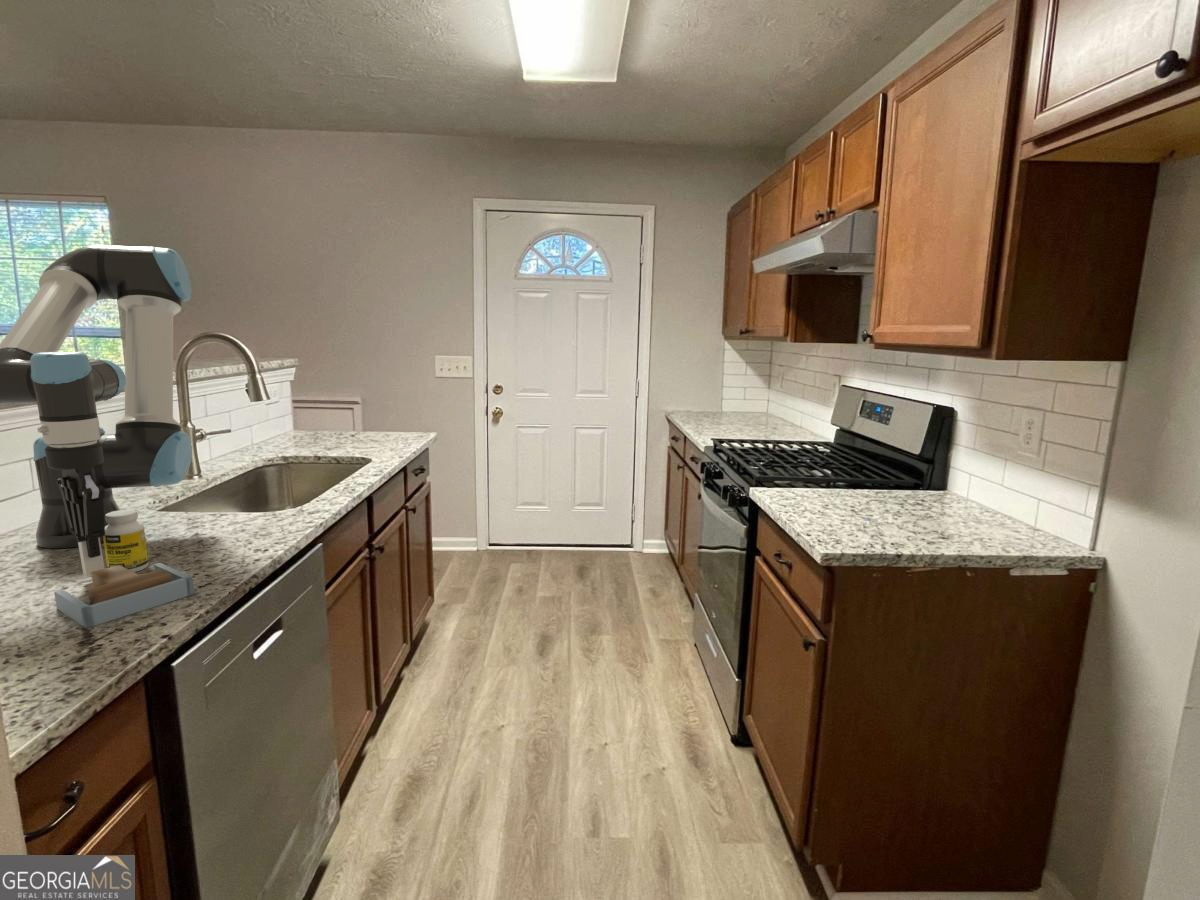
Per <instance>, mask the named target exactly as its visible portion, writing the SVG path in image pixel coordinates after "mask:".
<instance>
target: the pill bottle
mask: <svg viewBox="0 0 1200 900" xmlns="http://www.w3.org/2000/svg"><path fill="white" fill-rule="evenodd" d="M105 517H106V522H107V523H108V525H107V526H106V527H105V536H103V541H104V542H103V548H104V554H105V555H104V556H105V561H106V568H109V567H113V566H117V565H120V566H122V567H124V568H126V569H128V570H130V571H132V572H134V573H137V572H140V571H143V570H144V569H146V568H147V567H148V566H149V556H148V549H147V540H146V532H145V526H144V523H142V522H141V521H139V520H138V519H139V518H138V517H139V515H138V511H137V510H136V509H120V510H118V511H113V512H110V513H107V514H106V515H105Z"/></svg>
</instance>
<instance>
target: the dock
mask: <svg viewBox="0 0 1200 900" xmlns="http://www.w3.org/2000/svg"><path fill="white" fill-rule="evenodd" d="M153 569H154V570H153V571H156V570H159V569H160V570H162V571H164V572H166V573H168V574H171V582H168V583H164V584H161V585H158V586H154V587H151V588H147V589H144V590H141V591H137V592H134V593H130V594H127V595H124V596H120V597H117V598H113V599H110V600H107V601H103V602H100V603H96V604H93V605H90V604H89V605H88V604H87V603H85V602H84V601H83V600H80V599H79V598H77V597H76V596H74V595H72V594H71V593H69V592H67V591H66V590H64V589H63V588H62V589H61V588H60V589H58V590H54V591H53V594H54V599H55V605H56V609H57V610H59V611H60V612H61V613H63V614H64V615H66V616H67V617H69V618H71V619H72V620H74V621H75V622H76V623H78V624H80V625H81V626H82V627H84V628H85V629H88V628H91V627H94V626H97V625H101V624H104V623H107V622H111V621H113V620H117V619H119V618H123V617H126V616H129V615H132V614H135V613H138V612H139V613H140V612H141V611H145V610H147V609H151V608H154V607H159V606H161V605H164V604H168V603H170V602H172V601H173V602H174V601H177V600H180V599H183V598H186V597H189V596H193V595H195V586H194V578H193V577H192V576H190V575H189V574H186V573H184V572H181V571H180V570H177V569H175V568H172V567H171V566H168V565H165V564H163V563H162V562H157V563H154V564H153Z"/></svg>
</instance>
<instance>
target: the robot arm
mask: <svg viewBox="0 0 1200 900" xmlns="http://www.w3.org/2000/svg"><path fill="white" fill-rule="evenodd" d="M189 275H190V274H189V271H188V270H187V267H186V264H185V262H184V260H183V258H182V257H181V256H180V254H179V253H178V252H177V251H176V250H175V249H172V248H169V247H168V248H167V247H156V246H128V245H108V244H92V245H87V246H83V247H79V248H77V249H74V250H71V251H70V252H68V253H66V254H64V255H62V256H61V257H59V258H57V259H56V260H54V261H53V262H52V263H51V264H50V265H49V266H47V268H46V269H45V270H44V271H43V272H42V274H41V275H40V277H39V279H38V286H39V288H38V289H39V290H38V291H37V292H36V294H35V295H34V296H33V298H31V300H30V302H29V303H28V304H27V306H26V308H25V309H24V310H23V312H21V315H19V317H18V319H17V320H16V321H15V322H14V324H13V326H12V327H11V328H10V330H9V331H8V332H7V334H6V335H5V337H4V338H3V339H2V341H1V342H0V405H3V404H4V405H7V404H33V403H36V405H37V409H38V414H39V415H38V417H39V421H40V422H39V423H40V425H41V426H40V427H39V426H38V427H37V432H38V433H39V434H42V436H40V437H39V438H37V439H36V440H34V442H33V445H32V446H33V447H32V448H33V462H34V466H35V471H36V476H37V481H38V482H37V483H38V488H39V492H40V493H39V495H40V498H41V504H42V505H41V507H42V508H41V512H40V516H39V520H38V524H37V528H36V532H35V539H36V545H37V546H38V547H40V548H43V549H44V548H46V549H66V548H75V547H76V548H77V547H78V550H79V557H80V561H81V562H80V563H81V569H82V574H83V575H84V576H85V577H89V576H92V574H91V572H94V571H98V570H102V569H106V568H105V562H104V557H103V556H104V555H103V549H102V544H101V543H104V541H103V536H105V527H106V526H107V525H108V523H107V522H106V517H105V515H106V514H107V513H110V512H113V511H118V510H121V509H120V507H119V505H118V504H117V502H116V500H115V499H114V494H113V489H121V488H139V487H141V488H142V487H143V488H144V487H155V488H158V487H161V486H171V485H176V484H179V483H180V482H182V481H183V479H184V478H185V477H186V475H187V474H188V471H189V469H190V466H191V463H192V456H193V454H192V453H193V449H192V448H193V446H192V445H191V444H192V441H191V437H190V435H189V434H188V433H187V432H185V431H182V425H181V423H179V422H178V421H177V420H175V419H174V317H175V316H176V315H177V314H179V313H181V311H182V302H188V301H190V300H191V297H192V285H191V280H190V279H191V278H190V276H189ZM99 300H100V301H102V300H116V301H117V304H118V306H119V307H121V309H123V310H124V311H125V358H124V359H125V361H124V362H125V363H124V364H125V366H124V368H125V369H124V370H125V371H123V369H122V368H121V367H120V365H118V364H116V363H115V362H113V361H110V360H107V359H100V358H97V359H95V358H91V359H89V357H88V355H87V354H86V353H84V352H81V351H59V350H60V348H61V347H62V346H63V344H64V343H65V340H66V339H67V337H68V336H69V334H70V333H71V331H72V329H73V327H75V324H76V323H77V321H78V319H79V317H81V314H82V312H83V311H84V310H86V309H89V308H91V307H92V306H93V305H94V304H96V302H97V301H99ZM123 391H124V417H122V419H120V420H118V421H117V422H116V423H115V433H111V434H106V431H105V430H104V428H103V427H101V426H100V421H99V416H98V413H97V412H98V411H97V403H98V402H99V403H100V402H102V401H104V402H105V401H109V400H111V399H112V398H114V397H117V396H119V395H120V394H121V393H122V392H123Z"/></svg>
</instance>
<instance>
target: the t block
mask: <svg viewBox="0 0 1200 900" xmlns="http://www.w3.org/2000/svg"><path fill="white" fill-rule="evenodd" d="M91 574H92V575H91V580H92V585H93V587H90V588H88V589H87V590H88V591H87V592H88V598H89V605H93V604H96V603H100V602H103V601H107V600H110V599H113V598H117V597H120V596H124V595H127V594H130V593H134V592H137V591H141V590H144V589H147V588H151V587H154V586H158V585H161V584H164V583H168V582H171V574H168V573H166V572H164V571H162V570H160V569H159V570H156V571H155V570H153V571H149V572H146V573H141V574H139V573H137V572H132V571H130V570H128V569H126V568H124V567H122V566H120V565H117V566H113V567H109V568H107V567H106V568H105V569H102V570H98V571H94V572H91Z"/></svg>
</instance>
